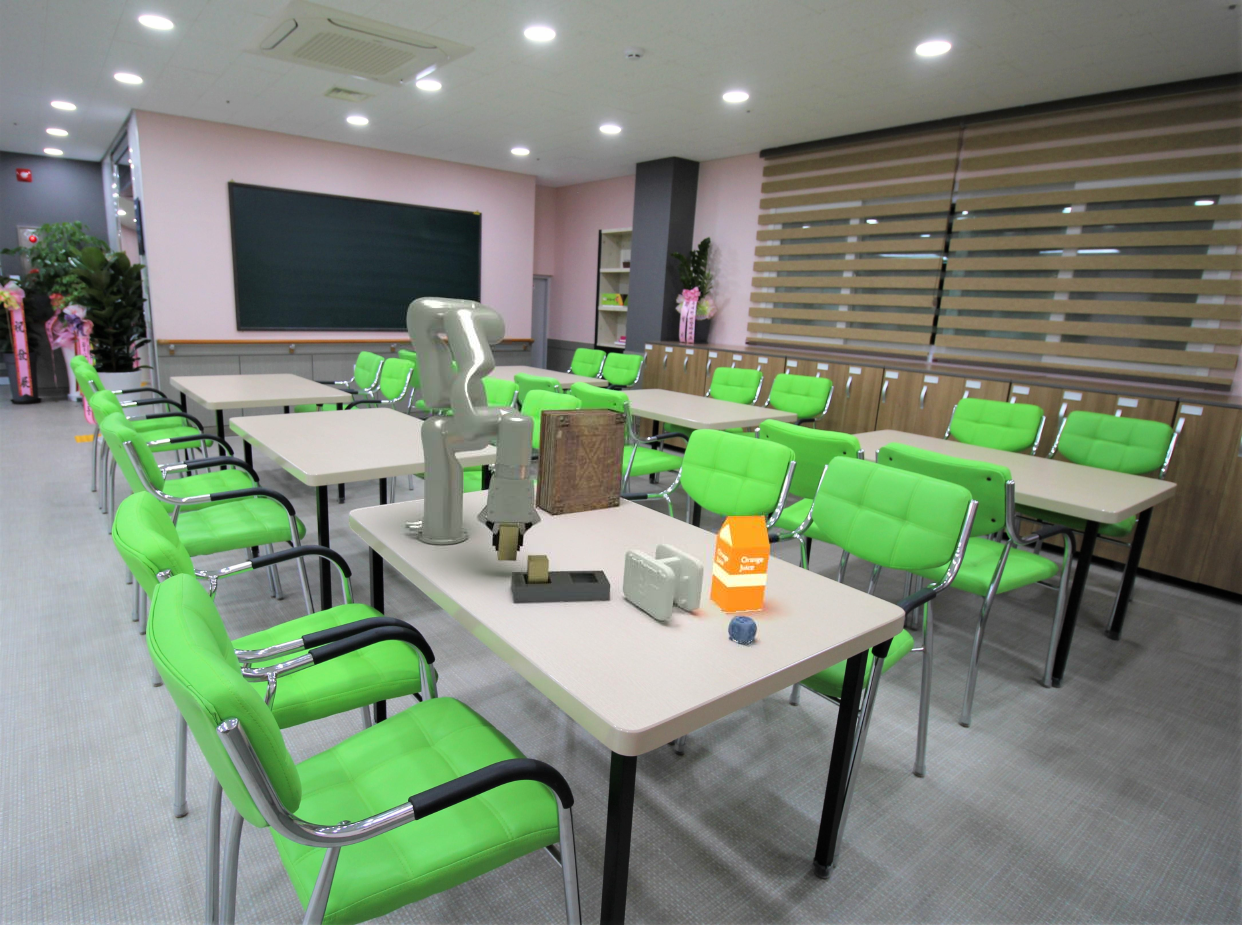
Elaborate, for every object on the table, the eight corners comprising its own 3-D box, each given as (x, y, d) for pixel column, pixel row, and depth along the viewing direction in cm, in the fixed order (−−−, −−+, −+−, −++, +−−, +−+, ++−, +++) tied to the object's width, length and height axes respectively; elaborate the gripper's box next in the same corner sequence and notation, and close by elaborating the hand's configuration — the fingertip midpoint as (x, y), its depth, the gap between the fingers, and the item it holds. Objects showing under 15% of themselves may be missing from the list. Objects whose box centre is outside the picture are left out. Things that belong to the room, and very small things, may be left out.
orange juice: (762, 611, 143) (774, 521, 139) (724, 614, 140) (735, 522, 136) (745, 596, 150) (756, 510, 146) (709, 598, 148) (719, 510, 143)
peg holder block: (513, 602, 138) (515, 565, 136) (511, 587, 145) (512, 552, 144) (609, 600, 143) (612, 564, 141) (601, 585, 150) (604, 551, 148)
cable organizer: (702, 616, 138) (708, 563, 136) (661, 627, 132) (667, 571, 130) (658, 590, 150) (662, 540, 148) (618, 598, 144) (623, 546, 142)
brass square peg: (498, 560, 149) (500, 526, 147) (497, 553, 152) (499, 520, 150) (516, 560, 150) (518, 527, 148) (515, 553, 153) (517, 520, 151)
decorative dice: (755, 639, 130) (758, 620, 129) (744, 646, 127) (747, 626, 126) (738, 632, 132) (740, 613, 132) (726, 638, 130) (729, 619, 129)
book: (551, 516, 198) (556, 415, 191) (535, 507, 205) (540, 410, 199) (619, 506, 213) (626, 412, 207) (602, 499, 220) (609, 408, 214)
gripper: (473, 473, 141) (469, 555, 145) (553, 476, 145) (546, 556, 149) (473, 464, 148) (468, 542, 152) (549, 467, 152) (542, 543, 156)
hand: (507, 548), depth 151 cm, fingers closed on brass square peg, 4 cm apart
